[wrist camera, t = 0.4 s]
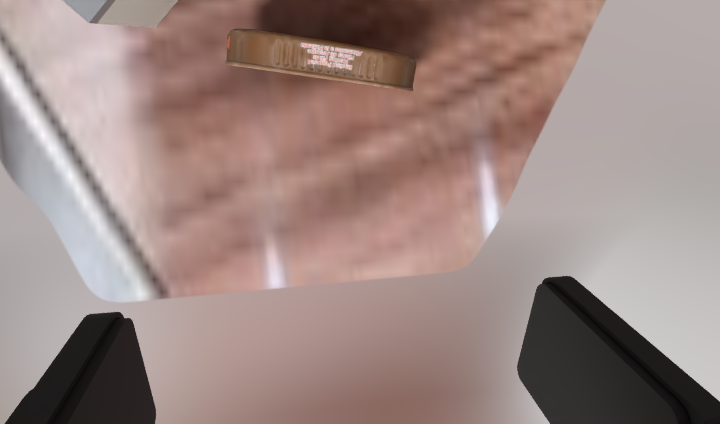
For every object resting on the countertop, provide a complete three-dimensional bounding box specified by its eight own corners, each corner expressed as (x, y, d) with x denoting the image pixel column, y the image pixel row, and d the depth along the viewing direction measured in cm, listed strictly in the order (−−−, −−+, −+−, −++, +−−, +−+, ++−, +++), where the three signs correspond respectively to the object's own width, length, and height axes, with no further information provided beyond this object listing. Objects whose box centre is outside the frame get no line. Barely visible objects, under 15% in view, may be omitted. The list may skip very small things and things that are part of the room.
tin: (232, 65, 34) (217, 72, 27) (233, 25, 33) (217, 21, 25) (397, 88, 37) (425, 102, 30) (403, 53, 36) (434, 57, 29)
